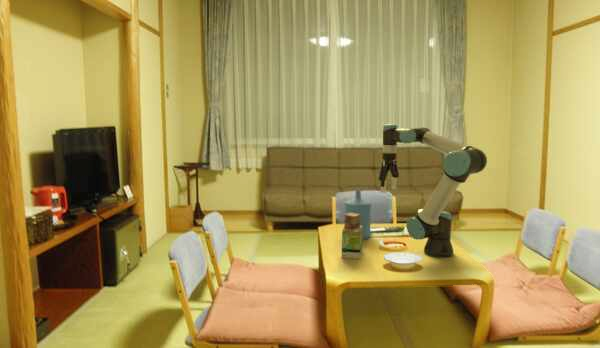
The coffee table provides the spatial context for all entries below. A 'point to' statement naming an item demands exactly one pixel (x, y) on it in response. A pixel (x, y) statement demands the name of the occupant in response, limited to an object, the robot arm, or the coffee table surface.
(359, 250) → the tea box
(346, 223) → the walnut block
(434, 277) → the coffee table surface
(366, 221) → the water jug
